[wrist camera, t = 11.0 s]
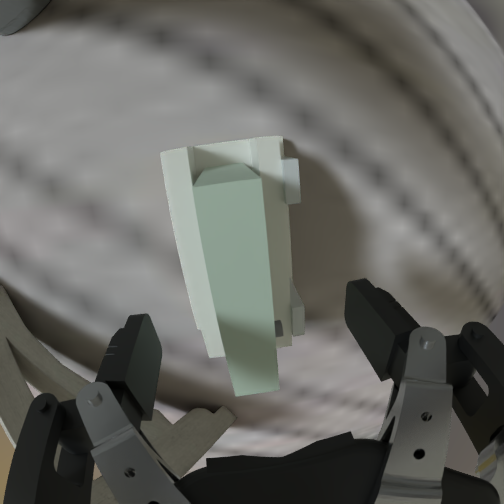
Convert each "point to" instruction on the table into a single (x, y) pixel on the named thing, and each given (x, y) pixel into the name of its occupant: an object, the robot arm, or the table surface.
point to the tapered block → (239, 273)
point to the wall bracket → (67, 387)
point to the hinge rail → (276, 216)
